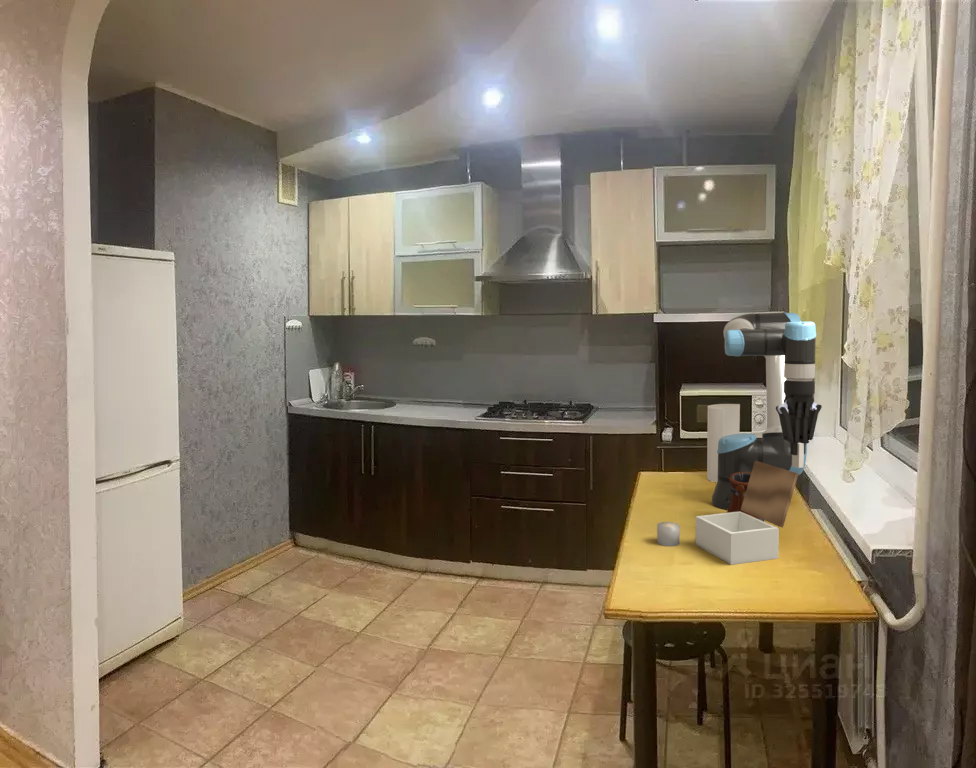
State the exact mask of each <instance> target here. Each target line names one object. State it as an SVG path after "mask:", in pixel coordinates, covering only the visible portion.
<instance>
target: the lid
mask: <svg viewBox="0 0 976 768" xmlns="http://www.w3.org/2000/svg"><path fill="white" fill-rule="evenodd" d="M798 477H799V475H798V473H795V472H791V471H788V470H785V469H781V468H778V467H775V466H772V465H768V464H765V463H762V462H758V461H755V462H754V465H753V469H752V472H751V476H750V479H749V483H748V486H747V490H746V493H745V496H744V500H743V503H742V507H741V510H742V511H744V512H746V513H749V514H751V515H753V516H756V517H758V518H760V519H763V520H764V522H766V523H769V524H771V525H773V526H776V527H778V528H779V527H780V528H784V525H785V523H786V519H787V516H788V512H789V508H790V505H791V501H792V497H793V494H794V490H795V488H796V485H797V480H798Z"/></svg>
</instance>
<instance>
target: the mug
mask: <svg viewBox="0 0 976 768" xmlns="http://www.w3.org/2000/svg"><path fill="white" fill-rule="evenodd" d="M750 476H751V472H737V473H733V474H732V475H730V478H729V480H730V483H731V486H730V490H731V492H732V496H731V502H730V506H729V508H728V509H727V511H726V513H730V512H739V511H740V512H743V513H745V514H747V515H750V516H752V517H754V518H757V519H759V520H761V521H764V522H765V520H763V519H760V518H758V517H756V516H753V515H751V514H749V513H746V512H744V511H742V510H741V507H742V503H743V500H744V496H745V493H746V490H747V486H748V483H749V479H750Z"/></svg>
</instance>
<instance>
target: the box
mask: <svg viewBox="0 0 976 768" xmlns="http://www.w3.org/2000/svg"><path fill="white" fill-rule="evenodd" d="M779 534H780V528H779V526H776V525H774V524H772V523H769V522H767V521H765V520H764V521H761V520H759V519H757V518H754V517H752V516H750V515H747V514H745V513H743V512H740V511H739V512H730V513H727V512H722V513H713V514H705V515H696V516H695V546H697V547H699V548H700V549H702V550H704V551H706V552H707V553H709V554H711V555H712V556H714V557H716V558H718V559H720V561H721V560H722V561H724V562H725V563H727V564H729V565H731V566H732V565H738V564H739V565H740V564H741V565H742V564H748V563H754V562H761V561H769V560H776V559H779V549H780V548H779V546H780V545H779V543H780V542H779V539H780V537H779V536H780V535H779Z"/></svg>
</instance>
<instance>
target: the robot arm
mask: <svg viewBox="0 0 976 768" xmlns="http://www.w3.org/2000/svg"><path fill="white" fill-rule="evenodd" d="M724 325H725V326H724V327H723V333H722V334H723V339H724V354H725V355H727V356H729V357H731V356H733V357H747V356H748V357H750V356H751V357H752V356H753V357H757V356H763V357H764V358H765V381H766V383H765V384H766V391H765V392H766V429H765V430H764V431H763V432H762V435H761V438H757V436H756V435H755V434H754V433H745V432H744V433H742V432H741V433H740V434H732V435H727V436H724V437H722V438H720V440H719V442H718V450H717V453H718V481H717V483H715V488H714V490H713V493H712V495H711V504H712V505H713V506H714V507H716V508H720V509H723V510H728V508H729V506H730V502H731V496H732V492H731V490H730V486H731V483H730V480H729V478H730V475H732V474H733V473H737V472H752V469H753V465H754V462H755V461H758V462H762V463H765V464H768V465H772V466H775V467H778V468H781V469H785V470H788V471H791V472H795V473H798V476H800V475H801V474H802V473H803V471H804V469H805V465H806V462H807V453H808V445H807V444H809V443H810V441H812V440H813V439H814V435H815V431H816V426H817V421H818V417H819V414H820V411H821V410H822V408H823V407H822V405H821V404H818V403H817V402H815V399H814V398H815V397H814V396H813V395H814V394H815V393H816V392H815V390H816V387H815V384H816V381H814V379H815V378H816V341H817V340H816V338H817V332H816V331H817V329H816V327H817V326H816V323H815V322H813V321H802V319H801V317H800V315H799V314H798V313H796V312H784V311H783V312H768V313H767V312H764V313H762V312H760V313H759V312H758V313H756V312H755V313H754V312H753V313H745V314H741V315H739V316H738V315H737V316H736V317H734V318H732V319H730V320H728V322H726V324H724Z"/></svg>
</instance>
